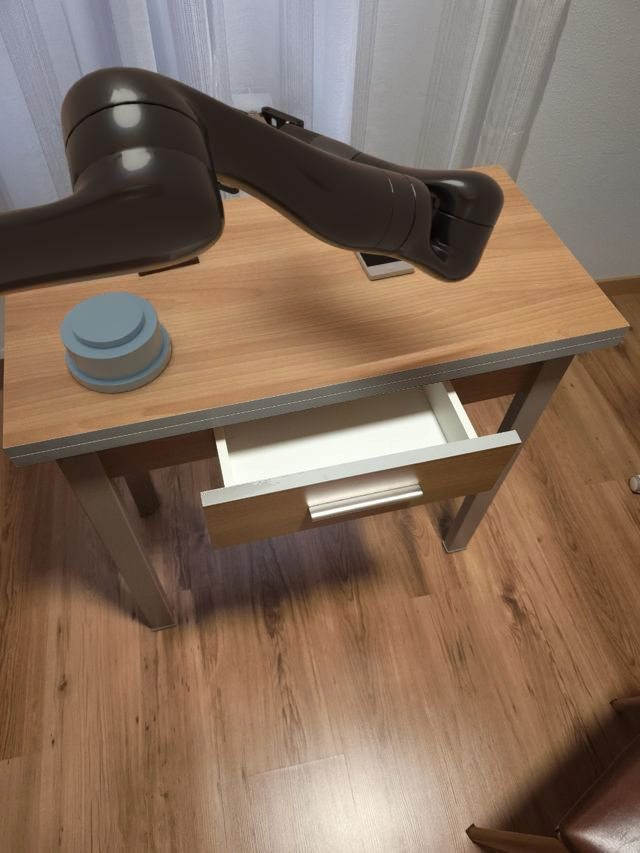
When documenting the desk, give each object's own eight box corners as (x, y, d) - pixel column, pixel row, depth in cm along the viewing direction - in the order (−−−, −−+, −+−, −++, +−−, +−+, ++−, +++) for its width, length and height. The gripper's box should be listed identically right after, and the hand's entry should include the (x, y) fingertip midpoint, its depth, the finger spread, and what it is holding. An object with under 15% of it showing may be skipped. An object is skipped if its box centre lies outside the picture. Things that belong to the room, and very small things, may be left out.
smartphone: (369, 280, 84) (370, 275, 83) (336, 220, 92) (336, 215, 91) (414, 272, 85) (415, 267, 84) (377, 213, 94) (378, 208, 93)
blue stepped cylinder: (77, 405, 69) (58, 369, 63) (62, 333, 76) (44, 295, 70) (182, 376, 72) (173, 339, 67) (158, 310, 79) (148, 271, 74)
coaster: (139, 276, 83) (138, 272, 82) (127, 240, 88) (125, 236, 87) (199, 262, 85) (198, 258, 84) (184, 228, 90) (183, 224, 89)
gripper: (352, 111, 61) (233, 71, 66) (277, 169, 54) (148, 119, 59) (347, 177, 68) (238, 135, 72) (278, 236, 60) (162, 186, 65)
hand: (198, 128), depth 66 cm, fingers open, 8 cm apart
